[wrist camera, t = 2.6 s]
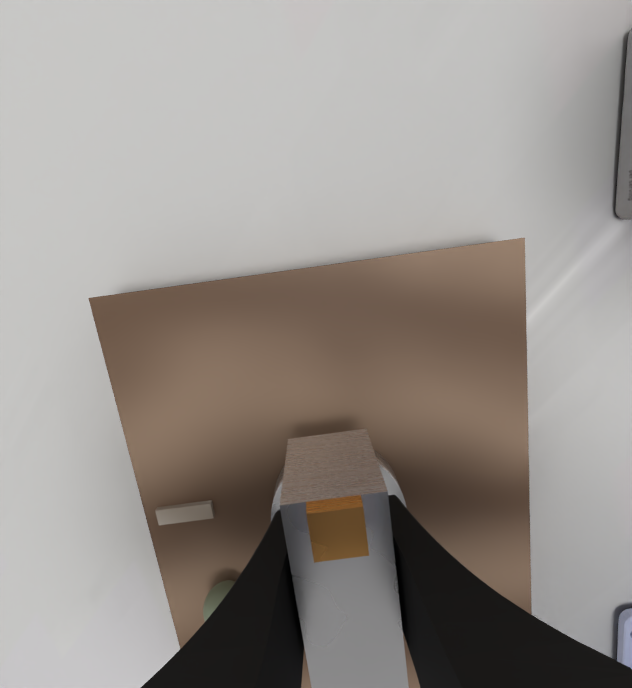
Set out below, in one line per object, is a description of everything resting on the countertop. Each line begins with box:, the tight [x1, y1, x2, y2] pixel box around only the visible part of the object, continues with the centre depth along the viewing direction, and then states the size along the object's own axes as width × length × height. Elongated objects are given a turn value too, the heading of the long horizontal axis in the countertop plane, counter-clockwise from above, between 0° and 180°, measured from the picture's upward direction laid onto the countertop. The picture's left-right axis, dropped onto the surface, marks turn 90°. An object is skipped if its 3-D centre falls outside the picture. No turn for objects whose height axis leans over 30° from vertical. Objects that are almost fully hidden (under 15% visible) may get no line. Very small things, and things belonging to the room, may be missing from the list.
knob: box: [271, 429, 409, 688], centre depth 11 cm, size 6×4×5 cm
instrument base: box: [89, 238, 531, 688], centre depth 14 cm, size 18×14×4 cm
